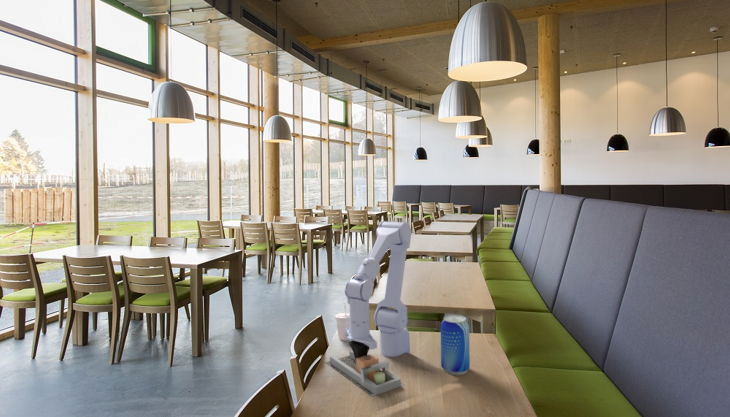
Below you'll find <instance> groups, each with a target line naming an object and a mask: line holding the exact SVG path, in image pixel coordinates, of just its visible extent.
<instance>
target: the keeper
mask: <svg viewBox="0 0 730 417" xmlns="http://www.w3.org/2000/svg"><path fill="white" fill-rule="evenodd" d="M355 362H356V365H357V370H356V371H357V372H358V373H360V374H361V368H364V367H367V366H371V365H374V364H377V363H380V362H379V358H378V357H376V356H375V355H373V354H371V353H370V354H367V355H365V356H363V357H359V358H356V361H355ZM376 372H379V369H378V370H375V371H372V372H369V373H368V379H369V380H370V381H372V382H373V383H374V374H375V373H376Z"/></svg>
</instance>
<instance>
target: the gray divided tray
mask: <svg viewBox="0 0 730 417" xmlns="http://www.w3.org/2000/svg"><path fill="white" fill-rule="evenodd" d="M350 359H351V360H350ZM325 363H326V365H329V367H330V368H331V369H333V370H335V372H338V371H340V372H339V375H341V376H343V377H344V378H346V379H348V381H349V382H351V383H352V384H354V386H357V387H358V388H359V389H361V390H362V391H363V392H364V393H366V394H367V395H369V396H370V397H371V398H372V397H375V396H377V395H378V396H379V395H381V394H384V393H386V392H389V391H392V390H394V389H396V388H400V387H402V386H405V384H404V383H403V382H401V380H402V379H401V378H400V377H398V376H396V375H395V374H393V373H391V372H390V371H389V372H387V373H385V383H382V384H379V385H376V384H375V383H373V382H372V381H370V380H369V379H366V380H364V387H363V386H362V385H361V374H360V373H358V372H357V365H356V360H355V356H354V353H353V351H352V349H351V350H349V356H345V357H341V359H340V358H337V357H336V356H335V355H330V356H329V362H325ZM379 372H382V368H381V369H379Z"/></svg>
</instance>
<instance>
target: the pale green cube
mask: <svg viewBox="0 0 730 417" xmlns="http://www.w3.org/2000/svg"><path fill="white" fill-rule="evenodd" d="M385 382H386V381H385V373H383V372H376V373H375V374H374V383H375V384H376V385H379V384H382V383H385Z"/></svg>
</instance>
